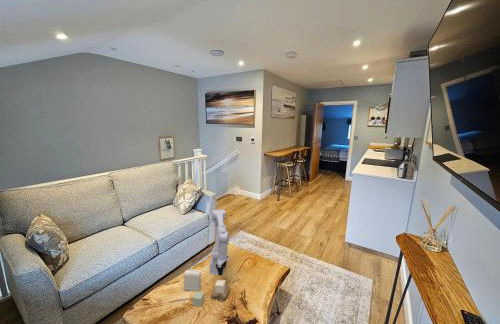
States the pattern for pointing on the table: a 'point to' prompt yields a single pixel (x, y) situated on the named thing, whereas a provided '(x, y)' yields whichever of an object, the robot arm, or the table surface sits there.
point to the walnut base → (221, 296)
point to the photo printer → (192, 280)
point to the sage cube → (198, 298)
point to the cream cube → (220, 286)
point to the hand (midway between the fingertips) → (222, 271)
